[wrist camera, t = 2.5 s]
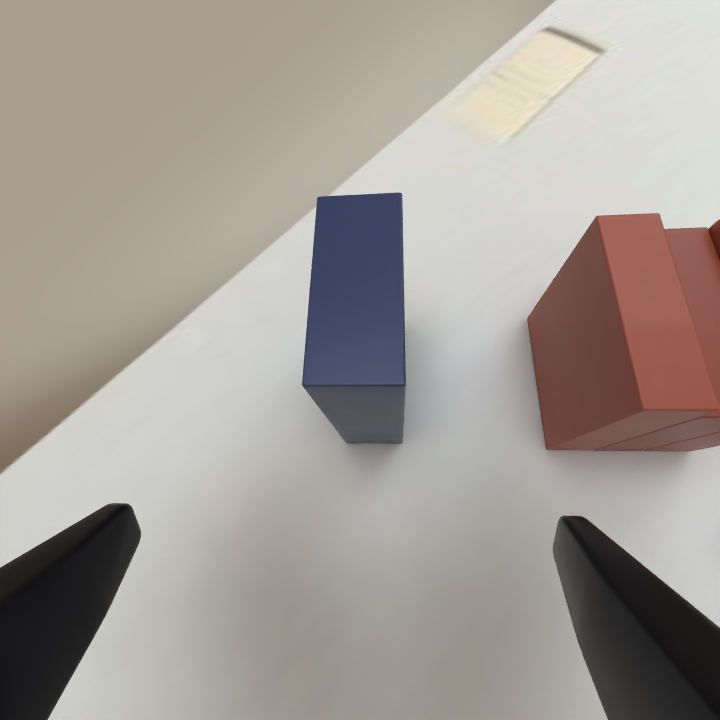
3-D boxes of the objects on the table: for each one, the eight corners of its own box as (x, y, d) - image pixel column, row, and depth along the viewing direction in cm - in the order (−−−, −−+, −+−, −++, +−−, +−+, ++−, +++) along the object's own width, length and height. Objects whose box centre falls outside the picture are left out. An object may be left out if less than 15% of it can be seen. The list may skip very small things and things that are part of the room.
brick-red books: (690, 451, 20) (894, 411, 12) (545, 449, 21) (642, 410, 13) (653, 315, 23) (796, 206, 15) (526, 317, 24) (595, 214, 16)
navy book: (402, 443, 22) (405, 385, 12) (346, 443, 22) (301, 385, 12) (400, 323, 25) (402, 191, 14) (350, 324, 25) (317, 195, 15)
